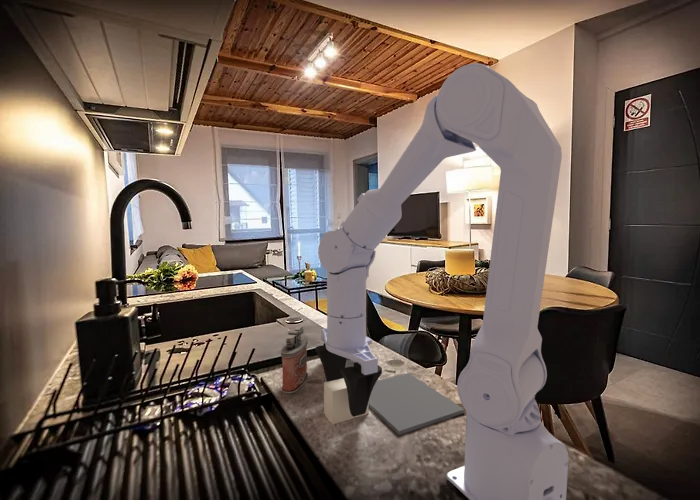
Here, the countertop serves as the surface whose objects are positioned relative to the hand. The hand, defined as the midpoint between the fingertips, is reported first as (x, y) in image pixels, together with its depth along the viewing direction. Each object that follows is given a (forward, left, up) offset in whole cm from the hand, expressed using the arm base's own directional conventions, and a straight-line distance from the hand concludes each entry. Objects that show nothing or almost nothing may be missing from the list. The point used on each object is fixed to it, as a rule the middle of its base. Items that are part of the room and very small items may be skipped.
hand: (346, 401), depth 53 cm
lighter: (+12, +4, -2) cm, 13 cm away
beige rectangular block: (0, 0, -2) cm, 2 cm away
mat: (-1, -10, -2) cm, 10 cm away
